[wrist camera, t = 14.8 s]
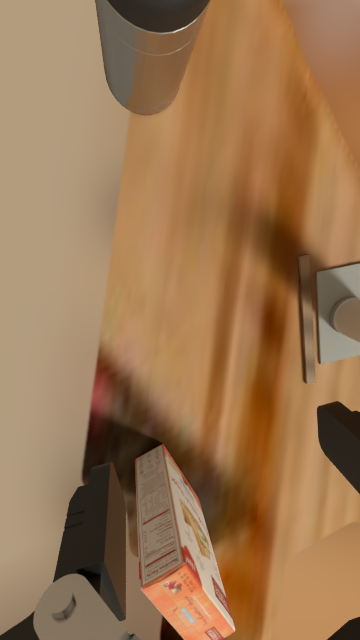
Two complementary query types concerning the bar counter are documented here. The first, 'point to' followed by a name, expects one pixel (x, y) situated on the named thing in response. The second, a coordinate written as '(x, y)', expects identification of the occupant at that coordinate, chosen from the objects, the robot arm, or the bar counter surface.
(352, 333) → the travel mug
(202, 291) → the bar counter surface
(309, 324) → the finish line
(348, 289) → the mat
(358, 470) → the robot arm
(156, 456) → the cracker box
